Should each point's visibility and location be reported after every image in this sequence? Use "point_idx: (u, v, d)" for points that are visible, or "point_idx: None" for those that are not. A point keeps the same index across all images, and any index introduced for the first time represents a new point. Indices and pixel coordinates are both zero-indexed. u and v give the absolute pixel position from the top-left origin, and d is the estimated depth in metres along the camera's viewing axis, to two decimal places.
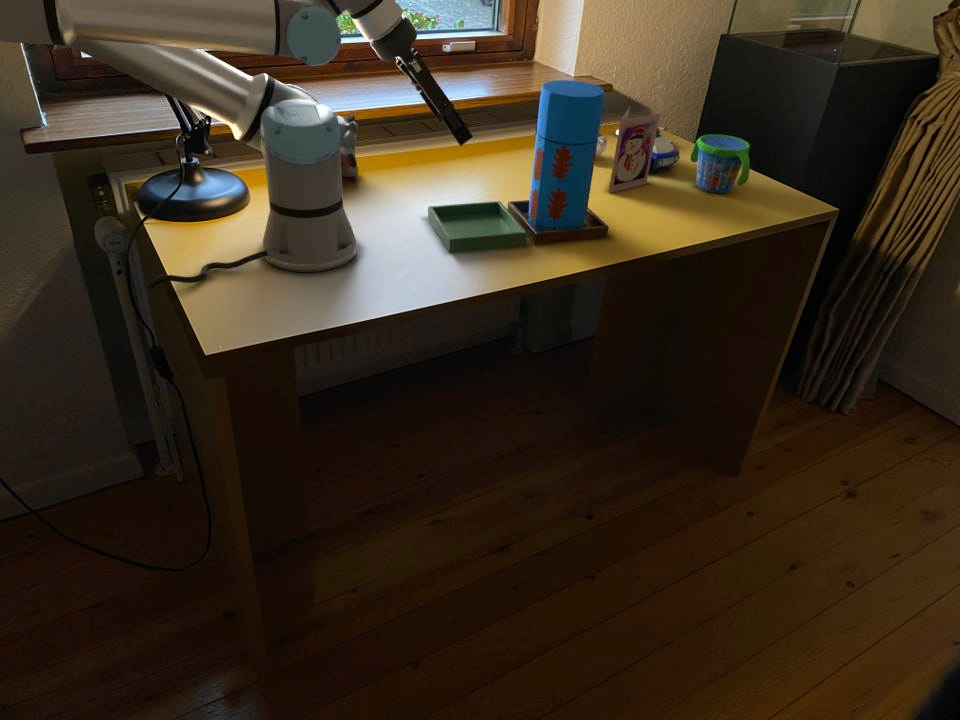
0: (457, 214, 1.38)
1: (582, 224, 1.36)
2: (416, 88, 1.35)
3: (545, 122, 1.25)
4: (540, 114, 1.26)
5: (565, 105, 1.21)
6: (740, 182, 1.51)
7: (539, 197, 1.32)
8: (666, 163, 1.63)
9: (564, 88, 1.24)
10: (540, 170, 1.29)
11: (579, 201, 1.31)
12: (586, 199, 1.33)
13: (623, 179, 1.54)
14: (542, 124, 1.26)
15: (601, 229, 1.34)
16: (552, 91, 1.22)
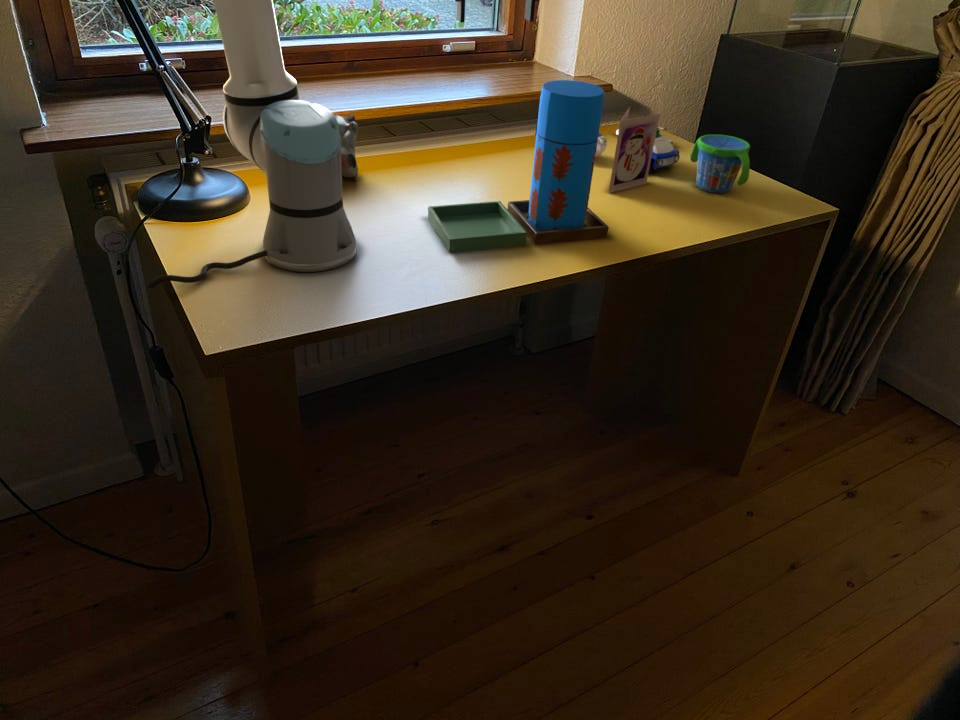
0: (457, 214, 1.38)
1: (582, 224, 1.36)
2: None
3: (545, 122, 1.25)
4: (540, 114, 1.26)
5: (565, 105, 1.21)
6: (740, 182, 1.51)
7: (539, 197, 1.32)
8: (666, 163, 1.63)
9: (564, 88, 1.24)
10: (540, 170, 1.29)
11: (579, 201, 1.31)
12: (586, 199, 1.33)
13: (623, 179, 1.54)
14: (542, 124, 1.26)
15: (601, 229, 1.34)
16: (552, 91, 1.22)
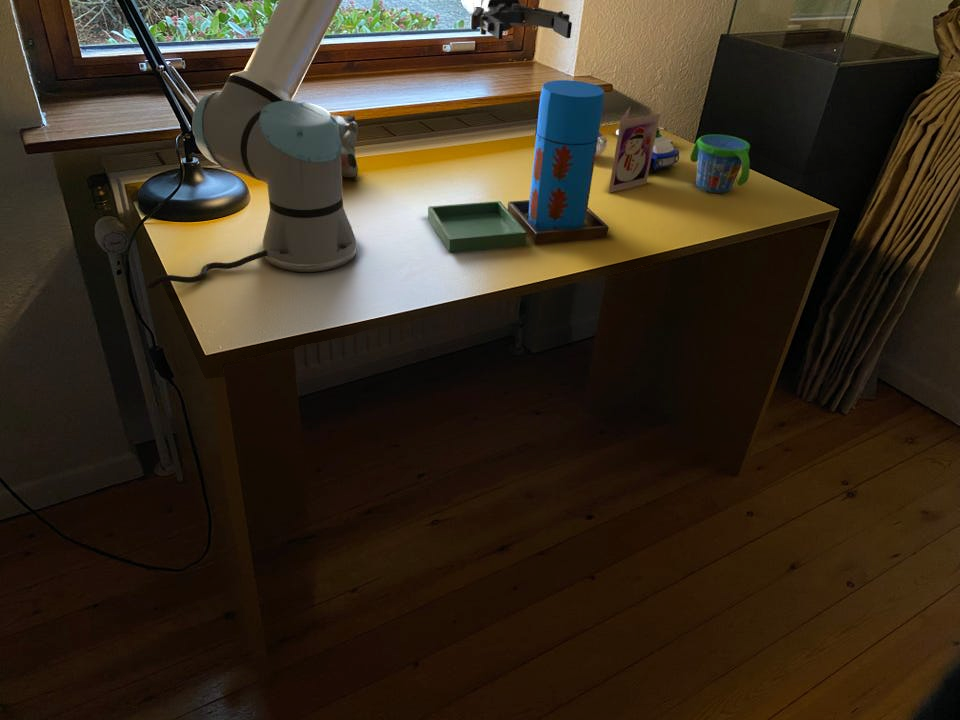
0: (457, 214, 1.38)
1: (582, 224, 1.36)
2: (484, 15, 1.38)
3: (545, 122, 1.25)
4: (540, 114, 1.26)
5: (565, 105, 1.21)
6: (740, 182, 1.51)
7: (539, 197, 1.32)
8: (666, 163, 1.63)
9: (564, 88, 1.24)
10: (540, 170, 1.29)
11: (579, 201, 1.31)
12: (586, 199, 1.33)
13: (623, 179, 1.54)
14: (542, 124, 1.26)
15: (601, 229, 1.34)
16: (552, 91, 1.22)
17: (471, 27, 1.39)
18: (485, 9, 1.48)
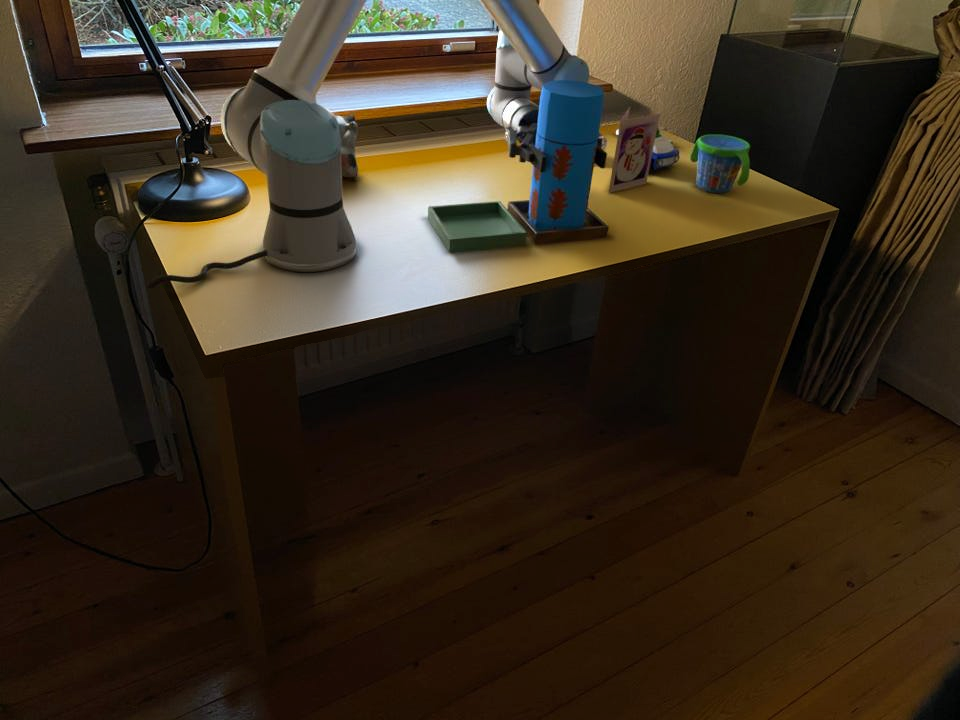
0: (457, 214, 1.38)
1: (582, 224, 1.36)
2: (524, 143, 1.31)
3: (545, 122, 1.25)
4: (540, 114, 1.26)
5: (565, 105, 1.21)
6: (740, 182, 1.51)
7: (539, 197, 1.32)
8: (666, 163, 1.63)
9: (564, 88, 1.24)
10: None
11: (579, 201, 1.31)
12: (586, 199, 1.33)
13: (623, 179, 1.54)
14: (542, 124, 1.26)
15: (601, 229, 1.34)
16: (552, 91, 1.22)
17: (510, 155, 1.31)
18: (516, 127, 1.41)
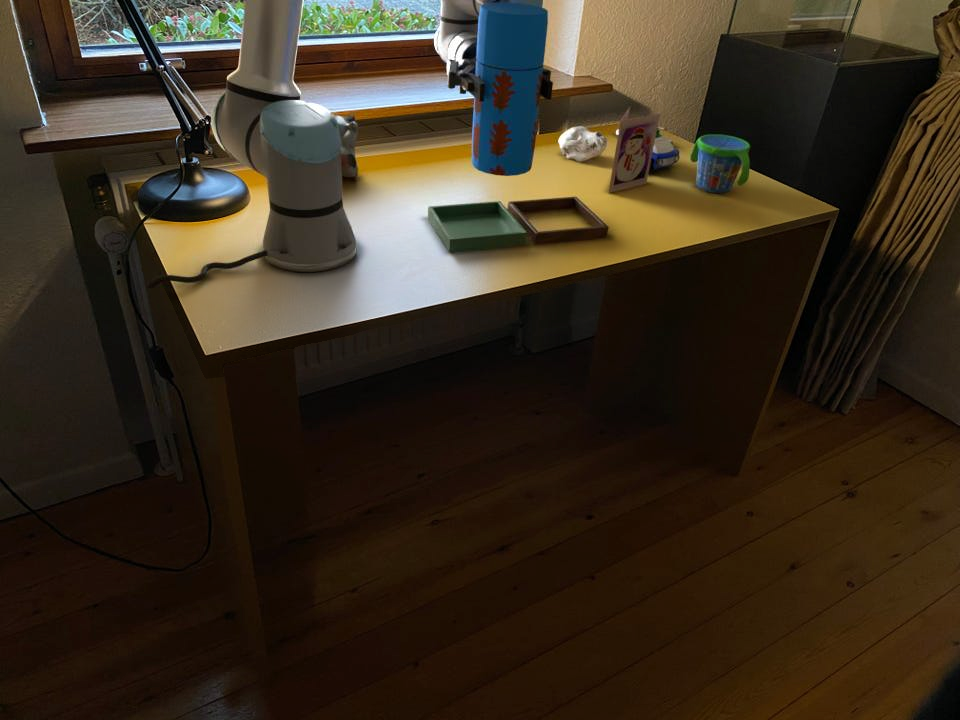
0: (457, 214, 1.38)
1: (529, 163, 1.25)
2: None
3: (483, 46, 1.14)
4: (478, 37, 1.15)
5: (503, 24, 1.10)
6: (740, 182, 1.51)
7: (480, 131, 1.21)
8: (666, 163, 1.63)
9: (504, 8, 1.13)
10: None
11: (524, 136, 1.21)
12: (532, 134, 1.22)
13: (623, 179, 1.54)
14: (480, 48, 1.15)
15: (601, 229, 1.34)
16: (489, 10, 1.11)
17: (449, 86, 1.21)
18: (459, 61, 1.31)
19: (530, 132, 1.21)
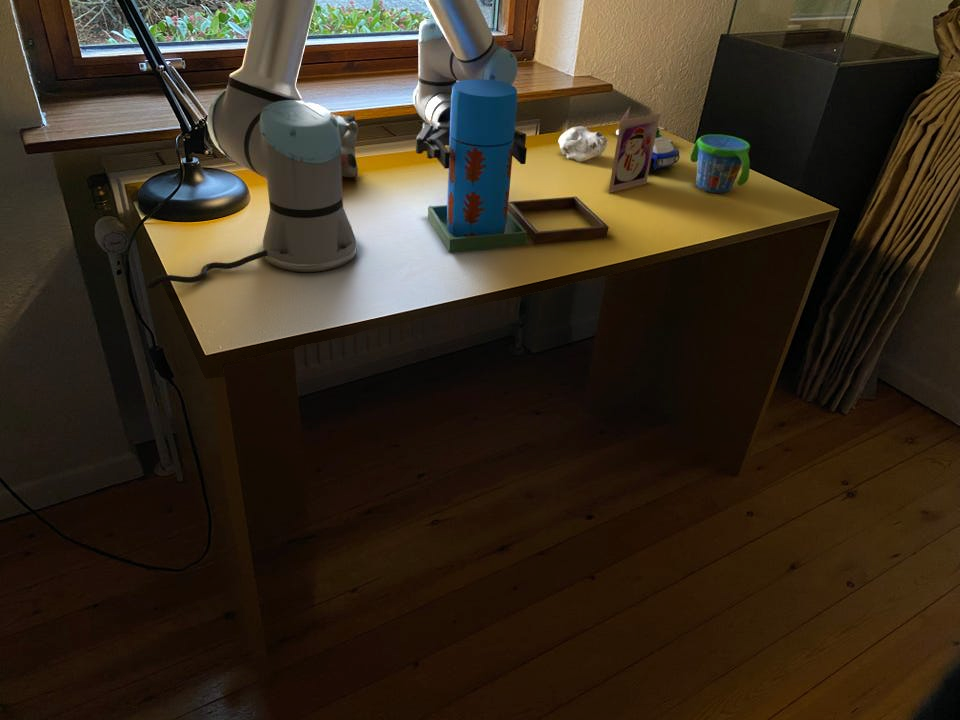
0: None
1: (501, 229, 1.31)
2: (431, 138, 1.26)
3: (455, 123, 1.20)
4: (451, 114, 1.21)
5: (473, 105, 1.16)
6: (740, 182, 1.51)
7: (454, 201, 1.27)
8: (666, 163, 1.63)
9: (475, 87, 1.19)
10: (454, 172, 1.24)
11: (496, 205, 1.26)
12: (504, 203, 1.28)
13: (623, 179, 1.54)
14: (453, 125, 1.21)
15: (601, 229, 1.34)
16: (461, 90, 1.17)
17: (417, 151, 1.26)
18: (435, 123, 1.36)
19: (502, 201, 1.27)
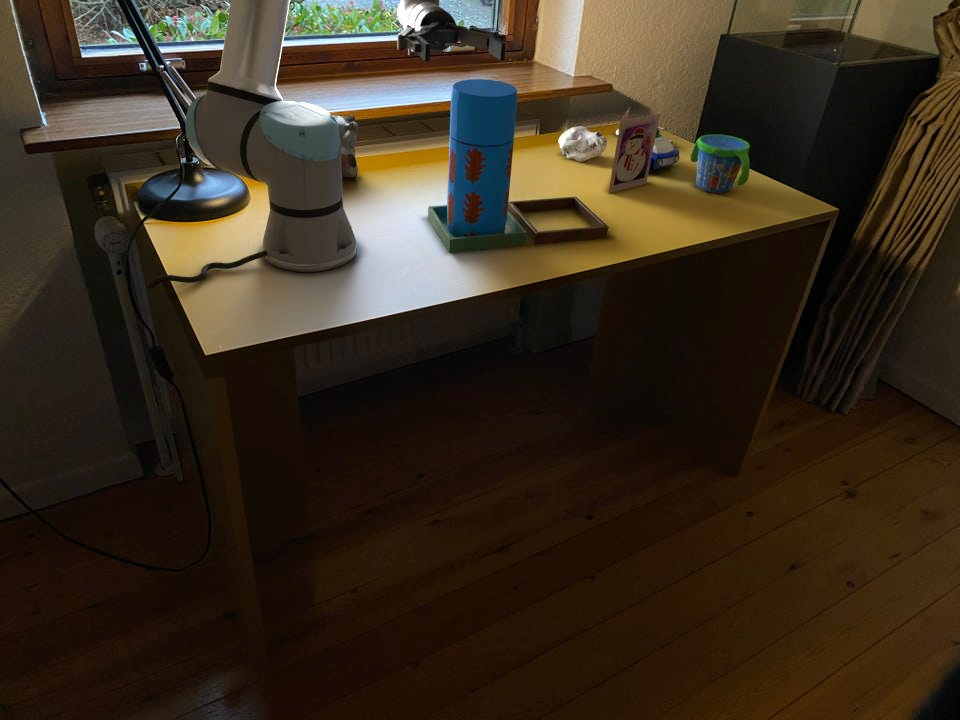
0: None
1: (502, 228, 1.31)
2: (412, 35, 1.29)
3: (455, 123, 1.20)
4: (451, 114, 1.21)
5: (473, 105, 1.16)
6: (740, 182, 1.51)
7: (454, 201, 1.27)
8: (666, 163, 1.63)
9: (475, 87, 1.19)
10: (454, 172, 1.24)
11: (496, 205, 1.26)
12: (504, 203, 1.28)
13: (623, 179, 1.54)
14: (453, 125, 1.21)
15: (601, 229, 1.34)
16: (461, 90, 1.17)
17: (398, 48, 1.29)
18: (418, 28, 1.39)
19: (502, 201, 1.27)
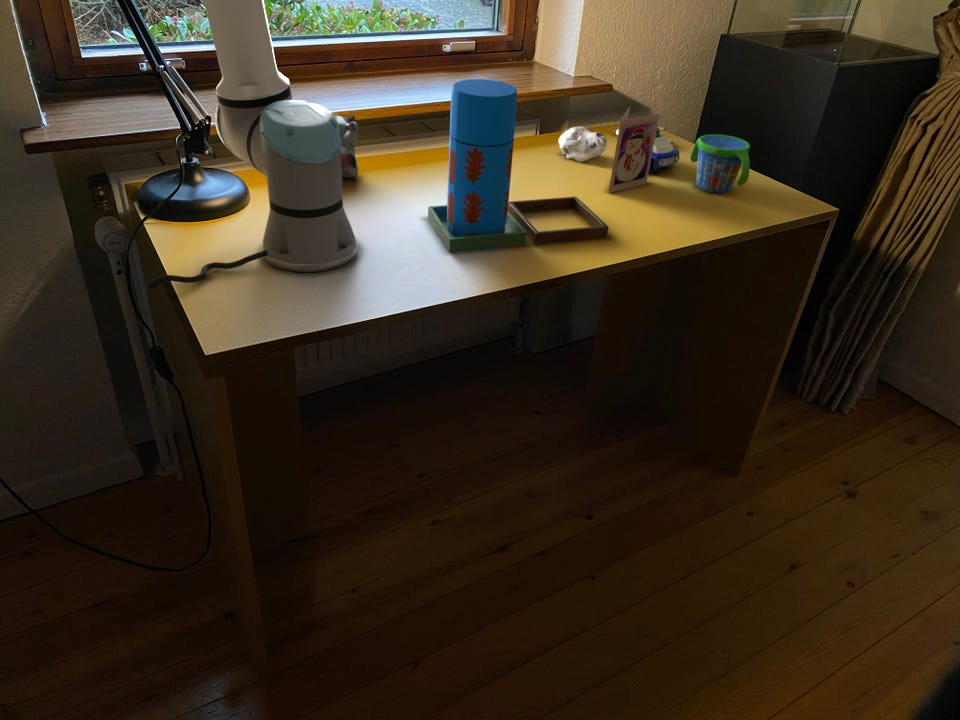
0: None
1: (502, 228, 1.31)
2: None
3: (455, 123, 1.20)
4: (451, 114, 1.21)
5: (473, 105, 1.16)
6: (740, 182, 1.51)
7: (454, 201, 1.27)
8: (666, 163, 1.63)
9: (475, 87, 1.19)
10: (454, 172, 1.24)
11: (496, 205, 1.26)
12: (504, 203, 1.28)
13: (623, 179, 1.54)
14: (453, 125, 1.21)
15: (601, 229, 1.34)
16: (461, 90, 1.17)
17: None
18: None
19: (502, 201, 1.27)
